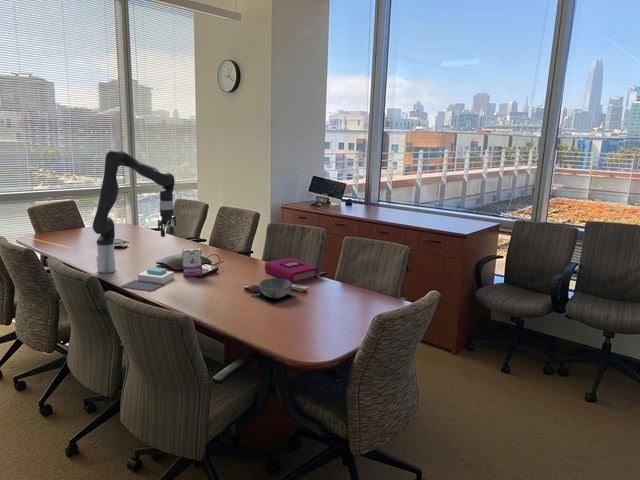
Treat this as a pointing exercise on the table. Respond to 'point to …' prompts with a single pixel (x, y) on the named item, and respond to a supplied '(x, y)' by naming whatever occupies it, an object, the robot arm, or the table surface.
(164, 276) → the block
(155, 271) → the teal flat block
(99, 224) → the robot arm
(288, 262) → the book
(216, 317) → the table surface
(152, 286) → the mat
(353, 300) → the table surface
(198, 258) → the candy bar box
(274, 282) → the bowl
